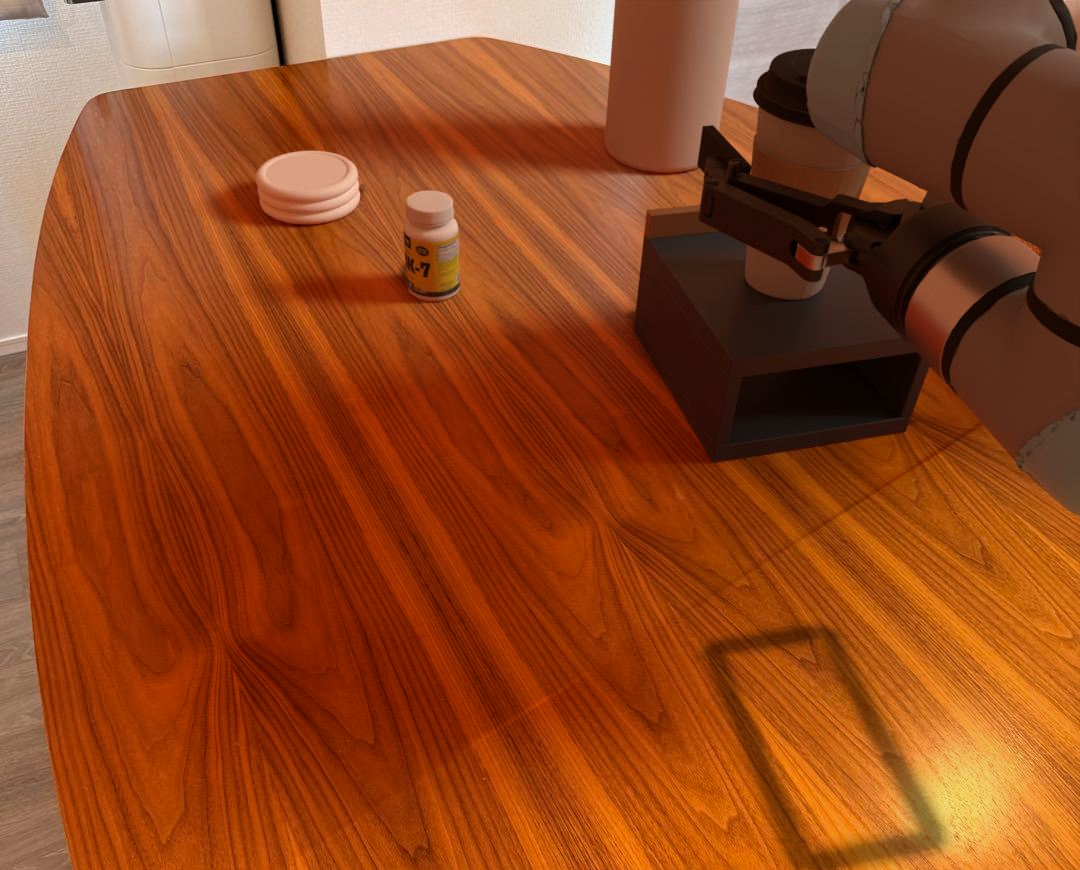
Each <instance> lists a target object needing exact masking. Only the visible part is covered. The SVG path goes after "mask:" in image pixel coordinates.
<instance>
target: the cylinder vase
mask: <svg viewBox="0 0 1080 870" xmlns="http://www.w3.org/2000/svg"><path fill="white" fill-rule="evenodd" d="M739 6H740V0H614V10H613V21H612V22H613V23H612V34H611V37H612V38H611V50H610V62H609V63H610V64H609V76H608V77H609V78H608V79H609V80H608V88H607V89H608V91H607V104H606V116H605V117H606V118H605V128H604V130H605V131H604V146H605V149H606V151H607V152H608V154H609V155H610V156H611V157H612V158H613V159H615V161H618V162H619V163H621V164H622V165H625V166H627V167H630V168H633V169H637V170H640V171H645V172H651V173H659V174H660V173H663V174H665V173H666V174H671V173H672V174H673V173H684V172H688V171H692V170H695V169H698V168H699V167H698V166H697V163H698V156H699V149H700V142H701V135H702V128H703V126H709V125H713V126H714V127H715V128H716V129H717V130H718V131H719V132H720V127H721V120H722V113H723V106H724V101H725V95H726V90H727V89H726V88H727V83H728V76H729V69H730V63H731V57H732V50H733V44H734V37H735V33H736V32H735V31H736V24H737V18H738V12H739Z"/></svg>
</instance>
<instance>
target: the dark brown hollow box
mask: <svg viewBox="0 0 1080 870" xmlns="http://www.w3.org/2000/svg"><path fill="white" fill-rule="evenodd" d="M699 210H700V204H693V205H684V206H683V205H682V206H673V207H664V208H662V207H661V208H653V209H647V210H646V214H645V222H644V231H643V239H642V240H643V241H642V251H641V260H640V269H639V276H638V277H639V279H638V287H637V295H636V296H637V297H636V305H635V313H634V314H635V316H634V322H633V323H634V325H633V332H634V334H635V335H636V337H637V339H638V340H639V342H640V343H641V345H642V347H643V349H644V351H645V352H646V354H647V356H648V357H649V359H650V360H651V363H652V364H653V365H654V368H655V369H656V371H657V372H658V374H659V375H660V377H661V379H662V381H663V382H664V384H665V386H666V388H667V390H668V392H670V394H671V396H672V398H673V399H674V400H675V403H676V404H677V406H678V407H679V409H680V411H681V413H682V414H683V416H684V418H685V419H686V421H687V423H688V424H689V426H690V427H691V430H692V431H693V433H694V434H695V437H696V438H697V439H698V442H699V443H700V444H701V446H702V448H703V450H704V451H705V453H706V455H707V456H708V458H709V460H710V461H711V463H720V462H725V461H732V460H738V459H745V458H750V457H751V458H753V457H757V456H763V455H769V454H776V453H782V452H788V451H795V450H800V449H806V448H808V449H809V448H814V447H820V446H826V445H831V444H839V443H846V442H850V441H851V442H852V441H857V440H865V439H870V438H876V437H877V438H878V437H883V436H889V435H895V434H900V433H906V432H907V429H908V426H909V424H910V421H911V418H912V416H913V413H914V411H915V408H916V405H917V402H918V399H919V396H920V394H921V392H922V389H923V386H924V383H925V380H926V378H927V375H928V373H929V370H930V368H931V367H930V366H929V365H928V364H927V363H926V362H925V361H924V360H923V358H922V357H921V356H920V355H919V354H918V353H917V352H916V351H915V350H914V349H913V347H912V346H911V345H910V343H909V342H907V341H906V340H905V339H903V338H902V337H901V336H900V335H899V334H898V333H897V332H896V330H895V329H894V328H893V327H892V326H891V325H890V324H889V323H888V322H887V321H886V320H885V319H884V318H883V316H882V315H881V314H880V313H879V312H878V311H877V310H876V309H875V307H874V305H873V303H872V301H871V299H870V296H869V293H868V290H867V286H866V284H865V281H864V279H863V277H862V276H861V275H859V274H857V273H856V272H853V271H851V270H849V269H847V268H846V267H844V266H843V265H837V266H832V267H830V270H829V272H828V275H827V277H826V280H825V283H824V285H823V287H822V289H821V290H820V291H819V292H818V293H816V294H815V295H813V296H811V297H809V298H805V299H800V300H786V299H779V298H775V297H771V296H769V295H766V294H763V293H761V292H759V291H757V290H756V289H754V288H753V287H751V286H750V285H749V284H748V282H747V281H746V279H745V264H746V251H747V245H746V244H745V243H743V242H741V241H739V240H737V239H735V238H733V237H731V236H729V235H727V234H725V233H723V232H721V231H719V230H717V229H715V228H713V227H711V226H709V225H707V224H705V223H703V222H701V221H699V219H698V217H699ZM844 235H845V232H844V233H843V236H842V238H841V241H844V240H843V238H844ZM841 241H840V242H841Z"/></svg>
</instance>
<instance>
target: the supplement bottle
mask: <svg viewBox="0 0 1080 870" xmlns="http://www.w3.org/2000/svg"><path fill="white" fill-rule="evenodd" d="M454 214H455V210H454V200H453V198H452V197H451V195H449V194H448V193H445V192H443V191H438V190H432V189H431V190H419V191H415V192H413V193H411V194H410V195H408V196H407V197H406V199H405V217H406V218H405V220H404V221H403V222H404V223H403V226H402V231H403V232H402V233H403V245H404V248H403V249H404V260H405V270H406V271H405V273H406V284H407V286H406V287H407V290H408V293H410V295H412V296H413V297H415V298H417V299H419V300H422V301H425V302H442V301H446V300H448V299H451V298H453V297H454V296H456V295H457V294H458V292H459V291H460V289H461V267H460V266H461V264H460V263H461V262H460V235H459V234H460V233H459V232H460V231H459V224H458V222H457V220H456V219H455V217H454V216H455V215H454Z"/></svg>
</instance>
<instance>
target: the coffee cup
mask: <svg viewBox="0 0 1080 870" xmlns="http://www.w3.org/2000/svg"><path fill="white" fill-rule="evenodd" d="M815 49H816V47H814V48H813V47H811V48H809V47H808V48H799V49H798V48H797V49H791V50H788V51H784V52H782V53H779V54H777V55H776V56H775V57H773V58H772V60H771V62H770V64H769V67H768V70H766V71H765V72H763V73H762V74H761V75H759V77H758V78H757V81H756V86H755V87H754V89H753V92H752V98H753V101H754V103H755V104H756V105H757V106H758V111H757V112H758V113H757V119H756V121H757V122H756V133H755V134H754V136H753V142H752V153H751V164H750V165H751V166H752V167H751V173H750V175H753V176H756V177H759V178H763V179H766V180H769V181H773V182H776V183H779V184H782V185H786V186H789V187H792V188H796V189H799V190H802V191H806V192H809V193H812V194H816V195H819V196H822V197H825V198H829V199H833V198H834V197H835V196H837V195H839V194H844V195H847V196H851V197H854V198H857V199H860V197H861V194H862V191H863V189H864V187H865V183H866V181H867V179H868V176H869V173H870V170H871V168H872V167H871V166H868V165H866V164H864V163H863V162H862V161H861V160H860V159H858V158H857V157H855V156H854V155H852V154H851V153H849V152H848V151H846V150H844V149H843V148H841V147H840V146H838V145H837V144H835V143H834V142H832V141H831V140H829V139H828V138H826V137H825V136H823V135H822V134H821V133H820V132H819V131H818V130H817V129H816V127H815V126H814V124H813V122H812V120H811V118H810V115H809V109H808V106H807V101H808V99H807V93H806V85H807V77H808V72H809V67H810V64H811V60H812V57H813V54H814V52H815ZM850 217H851V215H849V214H846V213H843V214H842V218H841V222H840V226H839V230H838V234H837V239H838V241H841V238H842V236H843V233H845V232H846V229H847V226H848V223H849V220H850ZM829 270H830V267H827V268H824V271H823V274H822V278H821V280H820V281H818V282H808V281H805V280H804V279H802V278H801V277H800V276H799V275H798V274H797V273H796V272H794V271H793V270H792V269H791V268H790V267H789V266H788V265H786V264H784V263H782V262H780V261H778V260H776V259H774V258H772V257H770V256H768V255H766V254H764V253H762V252H760V251H758V250H756V249H754V248H752V247H750V246H748V245H747V251H746V264H745V279H746V281H747V282H748V284H749V285H750V286H751V287H753V288H754V289H756V290H757V291H759V292H761V293H763V294H766V295H769V296H771V297H775V298H779V299H786V300H800V299H805V298H809V297H811V296H813V295H815V294H816V293H818V292H819V291H820V290H821V289H822V287H823V285H824V283H825V280H826V277H827V275H828V272H829Z"/></svg>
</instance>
